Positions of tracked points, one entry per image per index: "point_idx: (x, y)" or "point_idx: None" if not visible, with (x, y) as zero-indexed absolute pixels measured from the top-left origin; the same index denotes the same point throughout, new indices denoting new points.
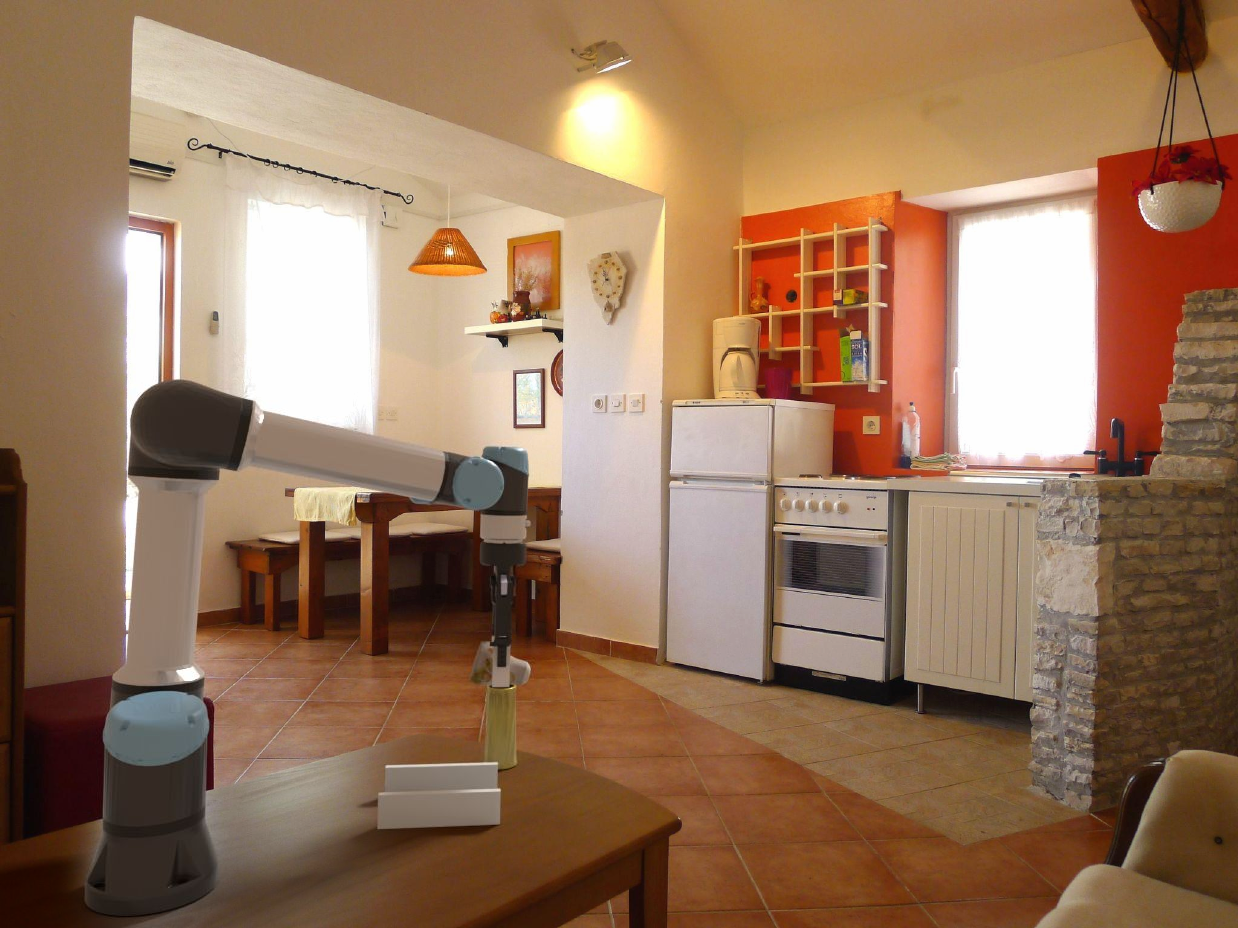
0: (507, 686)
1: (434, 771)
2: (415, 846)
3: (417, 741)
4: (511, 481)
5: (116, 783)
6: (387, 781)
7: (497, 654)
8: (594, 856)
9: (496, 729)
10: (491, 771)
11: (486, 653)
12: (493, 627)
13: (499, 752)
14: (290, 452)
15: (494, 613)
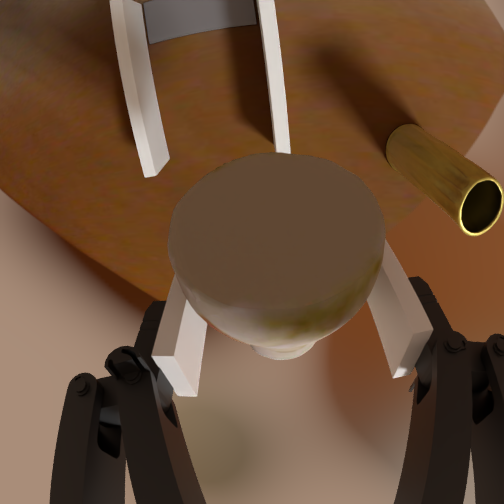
0: None
1: (264, 46)
2: (83, 75)
3: (500, 46)
4: None
5: None
6: None
7: (149, 338)
8: (102, 262)
9: (419, 162)
10: (275, 145)
11: (188, 298)
12: (435, 374)
13: (398, 155)
14: None
15: (428, 462)
